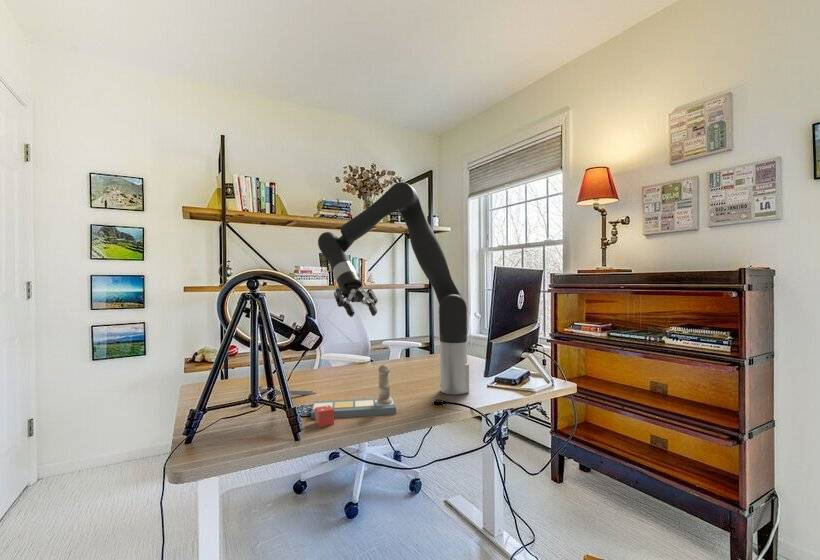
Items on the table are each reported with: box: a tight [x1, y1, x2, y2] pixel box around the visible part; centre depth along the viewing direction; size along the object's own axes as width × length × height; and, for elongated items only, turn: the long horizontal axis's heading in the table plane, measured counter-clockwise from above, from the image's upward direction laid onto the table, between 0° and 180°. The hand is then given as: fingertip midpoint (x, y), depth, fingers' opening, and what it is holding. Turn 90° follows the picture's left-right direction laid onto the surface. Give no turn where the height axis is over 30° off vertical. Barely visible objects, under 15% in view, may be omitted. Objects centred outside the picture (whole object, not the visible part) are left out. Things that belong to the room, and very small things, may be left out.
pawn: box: [376, 364, 393, 404], centre depth 120 cm, size 4×4×11 cm
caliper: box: [259, 384, 317, 396], centre depth 132 cm, size 20×1×6 cm, turn 125°
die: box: [314, 405, 335, 428], centre depth 109 cm, size 4×4×4 cm
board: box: [310, 396, 397, 419], centre depth 119 cm, size 24×10×2 cm, turn 98°
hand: (364, 314), depth 129 cm, fingers open, 8 cm apart
